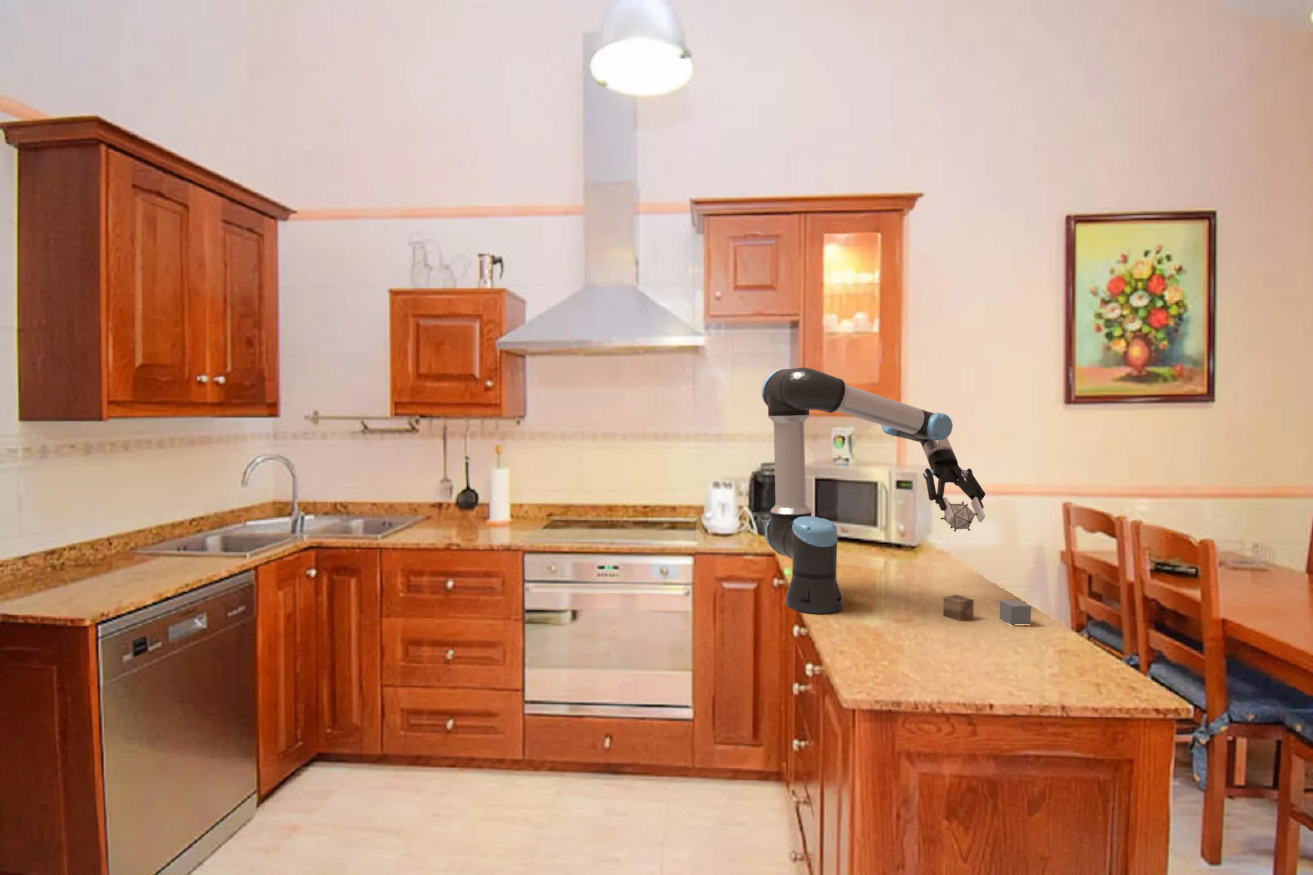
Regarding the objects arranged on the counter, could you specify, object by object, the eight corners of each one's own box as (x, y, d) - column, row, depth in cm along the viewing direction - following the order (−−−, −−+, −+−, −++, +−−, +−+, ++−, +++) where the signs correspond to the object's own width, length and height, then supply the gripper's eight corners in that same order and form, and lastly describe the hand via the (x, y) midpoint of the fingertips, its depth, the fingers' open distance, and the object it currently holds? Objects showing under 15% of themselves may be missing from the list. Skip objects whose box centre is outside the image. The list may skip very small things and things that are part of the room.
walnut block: (960, 621, 171) (960, 602, 171) (943, 616, 176) (943, 597, 175) (973, 618, 174) (973, 599, 173) (956, 613, 178) (956, 594, 178)
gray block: (1010, 626, 168) (1011, 606, 167) (999, 620, 173) (1000, 600, 172) (1030, 626, 168) (1031, 606, 168) (1018, 619, 173) (1019, 600, 173)
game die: (965, 545, 187) (982, 520, 181) (934, 532, 189) (951, 507, 183) (966, 524, 194) (983, 500, 188) (936, 512, 196) (952, 488, 190)
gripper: (969, 464, 204) (998, 526, 188) (902, 464, 203) (924, 527, 187) (979, 447, 198) (1009, 510, 183) (910, 447, 197) (934, 510, 182)
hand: (966, 519), depth 185 cm, fingers closed on game die, 8 cm apart
